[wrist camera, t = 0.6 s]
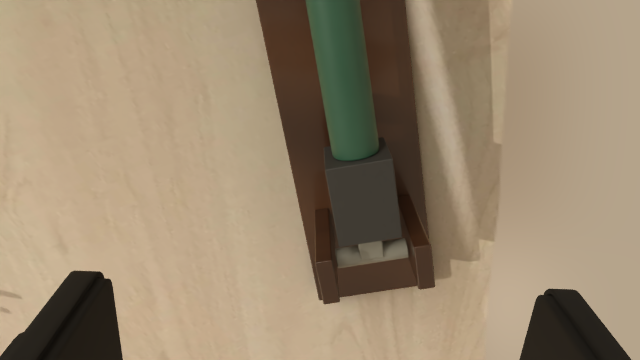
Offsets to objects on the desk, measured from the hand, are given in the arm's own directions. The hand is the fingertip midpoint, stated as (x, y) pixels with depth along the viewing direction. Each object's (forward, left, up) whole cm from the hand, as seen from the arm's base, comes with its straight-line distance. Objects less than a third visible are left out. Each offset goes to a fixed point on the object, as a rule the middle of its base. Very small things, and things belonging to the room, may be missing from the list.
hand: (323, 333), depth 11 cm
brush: (-1, +2, -14) cm, 15 cm away
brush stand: (+1, +2, -18) cm, 18 cm away
